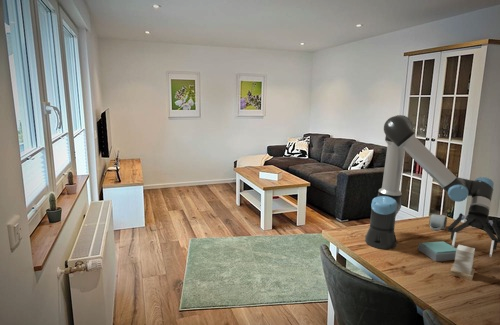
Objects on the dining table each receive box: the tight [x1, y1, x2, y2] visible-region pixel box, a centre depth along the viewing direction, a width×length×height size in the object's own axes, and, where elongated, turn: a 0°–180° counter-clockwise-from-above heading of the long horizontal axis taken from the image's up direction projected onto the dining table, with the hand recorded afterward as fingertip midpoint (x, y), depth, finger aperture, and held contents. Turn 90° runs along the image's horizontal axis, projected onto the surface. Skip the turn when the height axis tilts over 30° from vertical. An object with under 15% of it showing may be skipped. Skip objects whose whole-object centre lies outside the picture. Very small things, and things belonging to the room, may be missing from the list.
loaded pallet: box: [449, 244, 476, 281], centre depth 140 cm, size 8×8×11 cm
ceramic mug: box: [428, 213, 448, 232], centre depth 189 cm, size 11×8×8 cm
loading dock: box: [417, 240, 457, 262], centre depth 157 cm, size 14×12×4 cm
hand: (471, 251), depth 141 cm, fingers open, 13 cm apart
